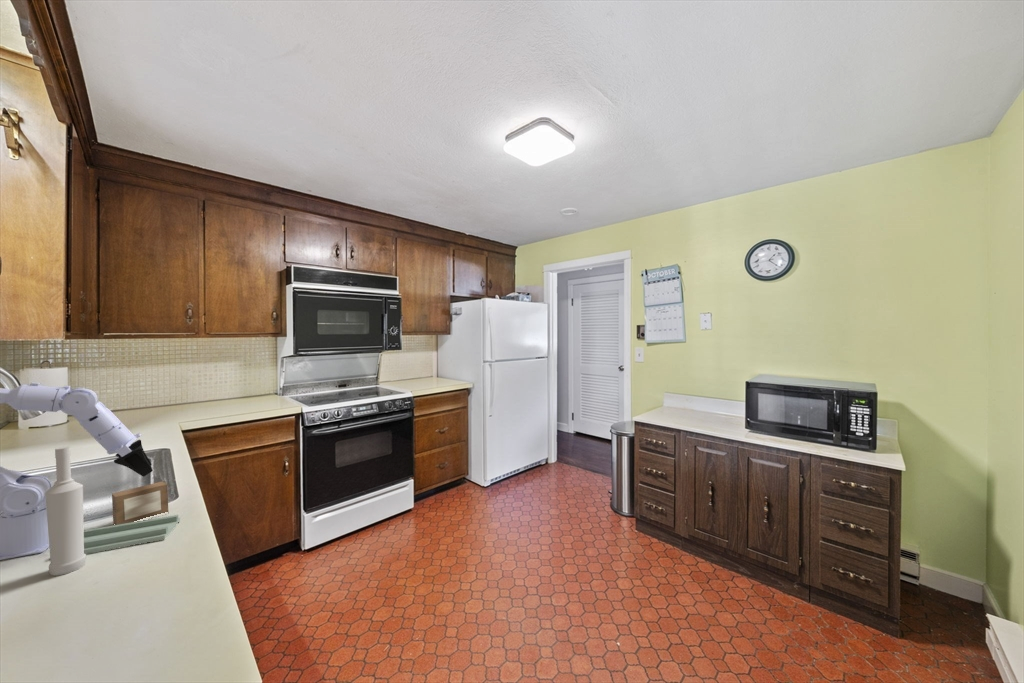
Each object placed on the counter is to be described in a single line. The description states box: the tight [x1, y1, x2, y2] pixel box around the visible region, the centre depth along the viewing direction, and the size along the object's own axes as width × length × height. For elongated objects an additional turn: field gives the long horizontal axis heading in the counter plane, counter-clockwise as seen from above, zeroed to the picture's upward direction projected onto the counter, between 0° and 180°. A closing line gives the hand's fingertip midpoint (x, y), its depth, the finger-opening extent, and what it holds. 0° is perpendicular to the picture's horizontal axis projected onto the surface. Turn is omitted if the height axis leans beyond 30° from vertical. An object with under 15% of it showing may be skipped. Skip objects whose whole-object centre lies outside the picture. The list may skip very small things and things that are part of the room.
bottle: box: [45, 445, 87, 577], centre depth 81 cm, size 5×5×25 cm
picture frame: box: [111, 481, 169, 525], centre depth 104 cm, size 10×4×8 cm, turn 144°
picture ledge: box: [84, 514, 181, 555], centre depth 94 cm, size 18×10×2 cm, turn 114°
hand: (147, 470), depth 103 cm, fingers open, 7 cm apart
